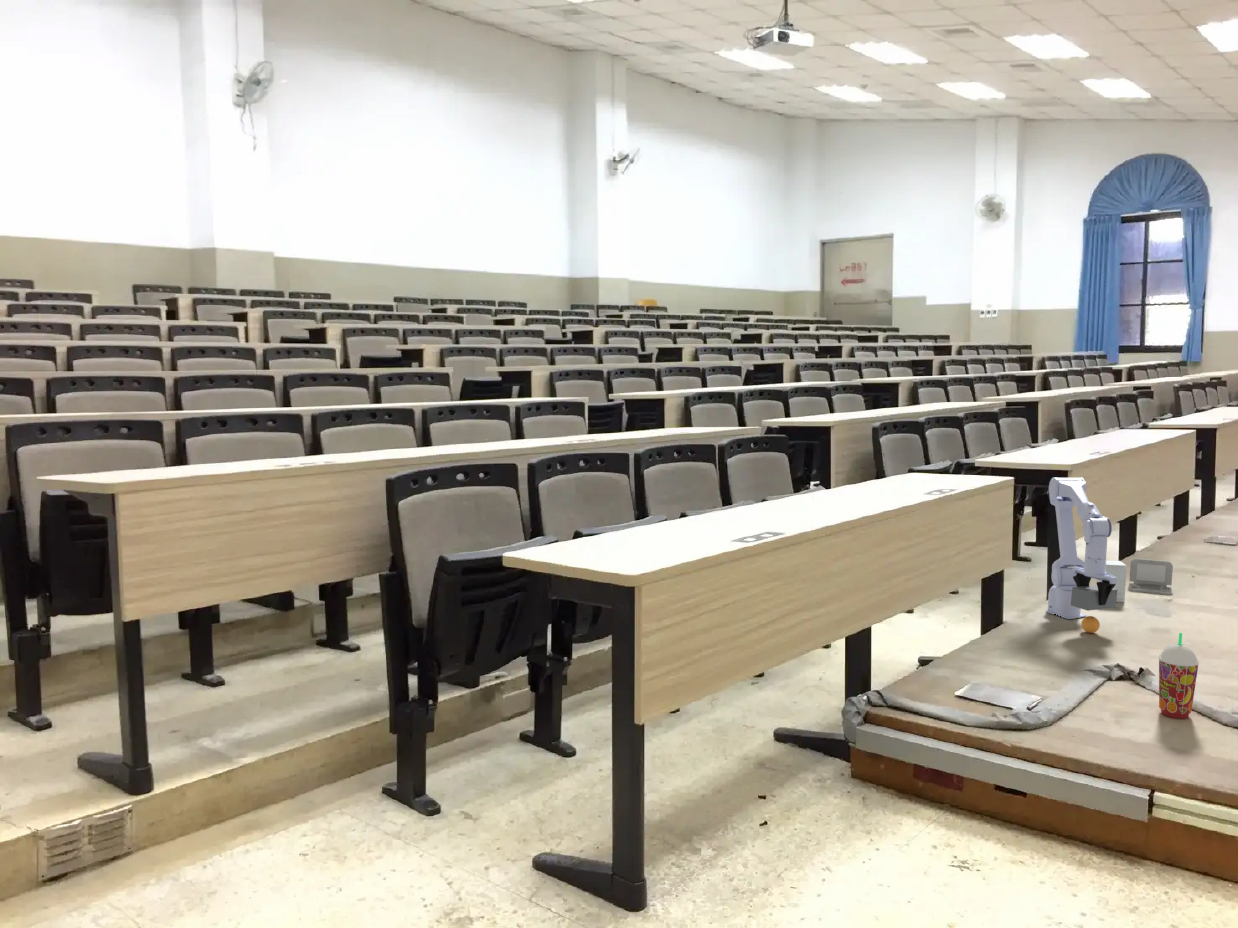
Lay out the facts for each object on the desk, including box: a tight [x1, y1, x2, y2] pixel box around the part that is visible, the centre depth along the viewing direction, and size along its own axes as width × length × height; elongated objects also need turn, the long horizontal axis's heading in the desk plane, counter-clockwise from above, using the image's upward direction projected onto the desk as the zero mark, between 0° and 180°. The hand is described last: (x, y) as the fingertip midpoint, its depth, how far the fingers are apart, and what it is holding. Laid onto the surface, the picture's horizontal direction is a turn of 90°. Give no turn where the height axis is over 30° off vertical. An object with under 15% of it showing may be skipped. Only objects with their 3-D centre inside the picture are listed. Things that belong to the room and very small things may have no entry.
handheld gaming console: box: [1128, 558, 1174, 596], centre depth 351 cm, size 13×9×10 cm
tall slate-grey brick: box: [1071, 584, 1117, 612], centre depth 303 cm, size 6×12×6 cm, turn 114°
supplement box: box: [1096, 559, 1127, 603], centre depth 340 cm, size 7×7×13 cm
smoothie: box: [1158, 632, 1200, 720], centre depth 239 cm, size 8×8×20 cm
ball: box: [1080, 615, 1101, 634], centre depth 304 cm, size 5×5×5 cm
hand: (1092, 601), depth 303 cm, fingers closed on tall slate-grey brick, 6 cm apart
